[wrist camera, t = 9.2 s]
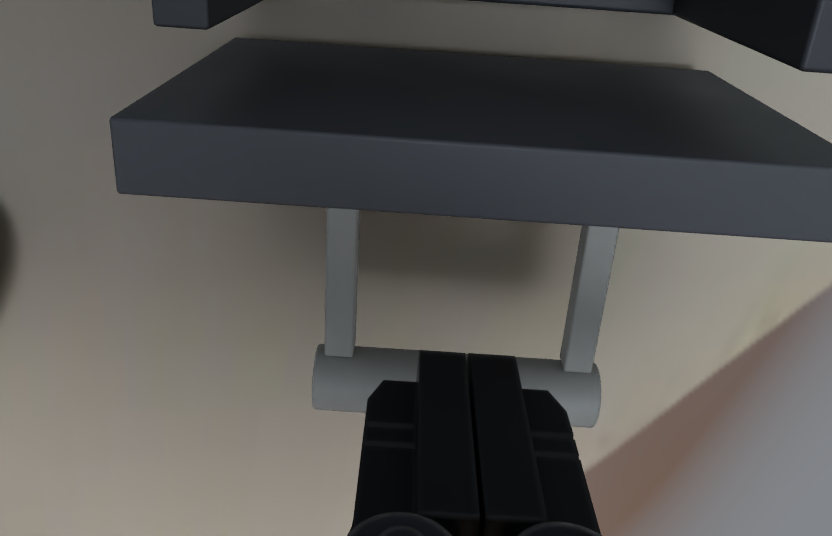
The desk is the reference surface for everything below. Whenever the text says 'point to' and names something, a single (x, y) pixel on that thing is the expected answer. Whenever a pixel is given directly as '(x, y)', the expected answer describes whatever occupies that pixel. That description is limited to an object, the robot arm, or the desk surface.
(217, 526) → the desk surface
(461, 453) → the robot arm
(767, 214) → the drawer
